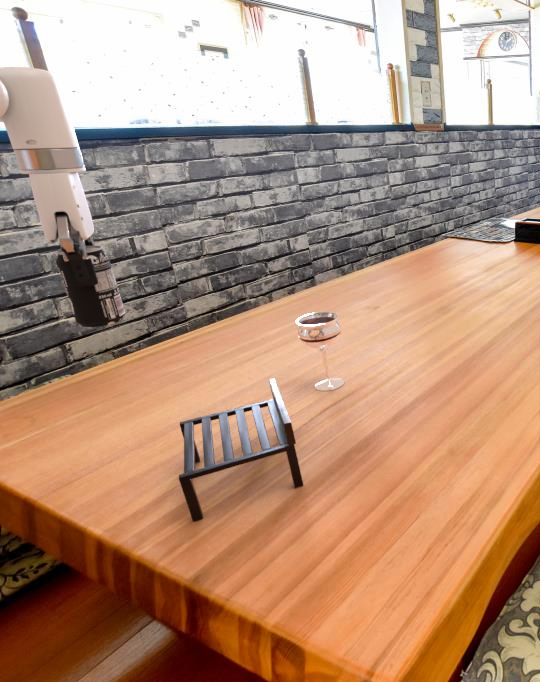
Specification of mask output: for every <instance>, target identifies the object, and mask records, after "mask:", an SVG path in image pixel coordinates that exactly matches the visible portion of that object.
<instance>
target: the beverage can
mask: <svg viewBox="0 0 540 682" xmlns="http://www.w3.org/2000/svg"><path fill="white" fill-rule="evenodd" d="M79 248H80V247H79ZM80 251H81V250H80ZM86 251H87V255H88V259H90V258H91V260H92V263H93V267H94V270H95V273H96V276H97V279H98V284H97V285H90V286H82V287H73V286H72V284H71V281H70V278H69V275H68V272H67V269H66V266H65V263H64V259H63V254H62V250H61V249H59V250H57V251H56V254H57V257H56V261H55V264H56V266H57V270H58V272H59V275H60V278H61V281H62V284H63V287H64V290H65V293H66V296H67V299H68V302H69V305H70V308H71V310H72V314H73V318H74V319H75V322H76V324H79V325H80V326H81V327H84V328H100V327H105V326H109V325H112V324H116V323H118V322H121V321H123V319H124V317H125V316H126V310H125V306H124V303H123V300H122V297H121V293H120V290H119V287H118V283H117V279H116V277H115V273H114V270H113V267H112V264H111V260H110V257H109V254H107V252H105V251H104V249H103V246H102V245H95V246H86Z"/></svg>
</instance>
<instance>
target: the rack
mask: <svg viewBox="0 0 540 682" xmlns="http://www.w3.org/2000/svg"><path fill="white" fill-rule="evenodd" d="M268 383H269V387H270V391H271V396H272V398H270V399H266V400H262V401H259V402H254V403H251V404H247V405H243V406H239V407H234V408H230V409H227V410H222V411H217V412H215V413H211V414H207V415H202V416H198V417H195V418H190V419H186V420H183V421H180V422H179V427H180V432H181V434H182V437H183V473H180V474H178V480H179V484H180V487H181V489H182V493H183V496H184V499H185V502H186V505H187V508H188V510H189V514H190V517H191V521H192V522H197V521H200V520H203V519H204V514H203V510H202V507H201V504H200V501H199V497H198V495H197V491H196V489H195V485H194V482H193V479H196V478H200V477H203V476H208V475H211V474H214V473H217V472H220V471H224V470H227V469H231V468H234V467H238V466H241V465H245V464H248V463H251V462H255V461H258V460H262V459H265V458H268V457H272V456H275V455H278V454H282V453H286V458H287V462H288V465H289V470H290V475H291V478H292V483H293V486H294V489H297V488H301V487H303V486H304V481H303V477H302V473H301V468H300V464H299V460H298V456H297V455H298V454H297V451H296V446H295V445H296V444H297V441H296V438H295V434H294V429H293V424H292V420H291V418H290V416H289V413H288V410H287V407H286V404H285V402H284V399H283V396H282V393H281V391H280V388H279V385H278V383H277V380H276V378H269V379H268ZM266 407H267V409H268V411H269V415H270V418H271V422H272V425H273V428H274V432H275V435H276V438H277V442H278V445H276V446H274V447H272V445H271V443H270V439H269V436H268V432H267V429H266V425H265V421H264V417H263V413H262V410H261V409H263V408H266ZM247 412H252V416H253V420H254V424H255V428H256V432H257V436H258V441H259V444H260V448H261V450H259V451H255V452H253V448H252V443H251V438H250V434H249V429H248V423H247V419H246V413H247ZM234 415H235V418H236V423H237V429H238V433H239V434H238V435H239V439H240V446H241V452H242V455H241V456H239V457H234V449H233V442H232V441H233V440H232V435H231V429H230V422H229V417H231V416H234ZM216 420H218V422H219V423H218V424H219V429H220V430H219V431H220V439H221V449H222V457H223V461H222V462H218V463H216V460H215V449H214V439H213V438H214V437H213V426H212V422H213V421H216ZM200 424H201V433H202V450H203V451H202V452H203V465H204V466H203V467H201V468H196V464H197V463H201V457H200V453H199V450H198V447H197V443H196V440H195V426H196V425H200Z"/></svg>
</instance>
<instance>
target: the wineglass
mask: <svg viewBox="0 0 540 682" xmlns="http://www.w3.org/2000/svg"><path fill="white" fill-rule="evenodd" d="M338 319H339V314H338V313H336V312H333V311H318V312H312V313H307V314H304V315H302V316H300V317H298V318H297V319H296V320H295V323H296V325H298V328H297V335H298V339H299V340H300V341H301V343H302V344H304V345H306V346H307V347H309V348H311V349H314V350H318V352H321V353H320V354H321V357H322V361H323V365H324V369H325V375H326V378H324V379H321V380H319V381H317V382H316V383H314V389H315V390H318V391H322V392H327V391H328V392H329V391H333V390H337V389H339V388H341V387H342V386H344V385H345V380H344V378H341V377H330V368H329V363H328V356H327V355H328V354H327V350H328V349H329V348H330V347H332V346H333V345H334V344H336V342H337V341H338V340H339V339H340V337H341V333H342V327H341V324H340V322H339V321H338Z"/></svg>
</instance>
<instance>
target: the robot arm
mask: <svg viewBox="0 0 540 682" xmlns="http://www.w3.org/2000/svg"><path fill="white" fill-rule="evenodd" d="M0 123H3V124H4V127H5V130H6V132H7V133H6V134H7V135H8V139H9V142H10V144H11V147H12V150H13V153H14V156H15V159H16V162H17V165H18V167H19V171H20V173H21V175H28V176H29V183H30V187H31V191H32V196H33V200H34V203H35V207H36V210H37V214H38V217H39V221H40V225H41V228H42V232H43V235H44V238H45V241H46V242H47V243H49V244H51V245H52V244H56V243H57V242H58V241H59V245H60V250H62V254H63V259H64V263H65V266H66V269H67V272H68V275H69V278H70V281H71V284H72V286H73V287H82V286H90V285H97V284H98V279H97V276H96V273H95V270H94V267H93V263H92V260H91V258H90V259H88V255H87V251H86V246H96V244H95V241H94V238H93V236H92V235H93V234H94V233H95V226H94V225H95V224H94V221H93V218H92V214H91V211H90V207H89V204H88V200H87V197H86V193H85V191H84V188H83V183H82V182H81V177H80V176H79V173H80V172H87V169H86V165H85V162H84V158H83V155H82V152H81V148H80V145H79V142H78V138H77V135H76V132H75V131H76V130H75V127H74V125H73V121H72V118H71V115H70V112H69V108H68V105H67V101H66V98H65V95H64V92H63V88H62V85H61V82H60V81H59V79H58V77H57V76H56V75H55V74H54V73H53V72H51V71H49V70H46V69H43V68H36V67H26V66H25V67H23V66H3V67H0ZM79 247H80V248H79ZM80 250H81V251H80Z"/></svg>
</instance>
